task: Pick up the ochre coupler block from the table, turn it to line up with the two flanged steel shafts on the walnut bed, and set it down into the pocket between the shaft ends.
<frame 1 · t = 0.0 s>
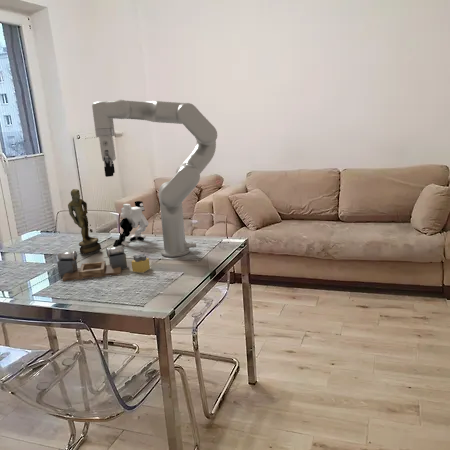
hand: (110, 174, 196), 37 cm above the table, tool pointing down, fingers open, 9 cm apart
shaft 1: (69, 273, 190), on the table
bed: (93, 273, 189), on the table
coupler: (141, 270, 189), on the table
shaft 2: (117, 268, 193), on the table
robot toy: (132, 242, 229), on the table
statue: (90, 253, 217), on the table
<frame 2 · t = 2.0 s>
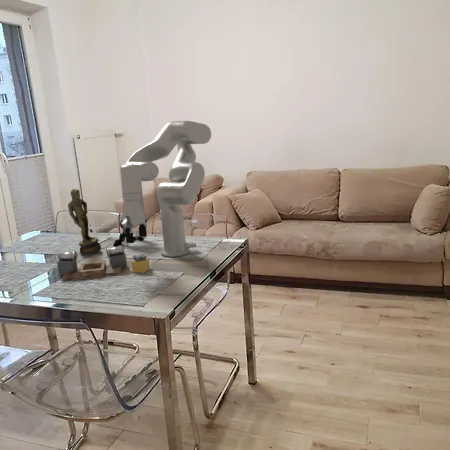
hand: (136, 239, 185), 13 cm above the table, tool pointing down, fingers open, 9 cm apart
nothing on the table moved.
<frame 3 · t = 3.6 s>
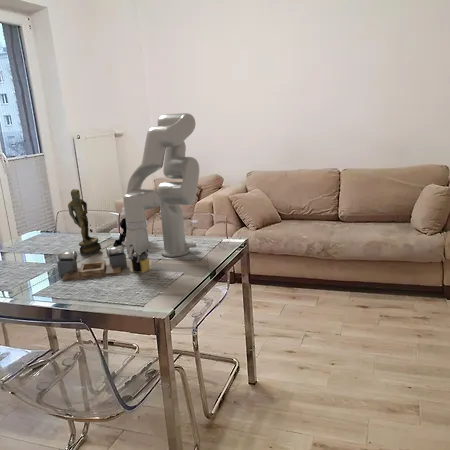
hand: (141, 268, 189), 1 cm above the table, tool pointing down, fingers closed on coupler, 5 cm apart
coupler: (141, 270, 189), on the table, touching gripper
everything else where it was.
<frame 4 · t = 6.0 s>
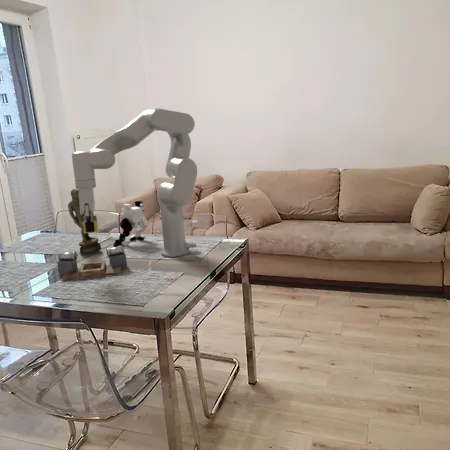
hand: (91, 229, 184), 18 cm above the table, tool pointing down, fingers closed on coupler, 5 cm apart
coupler: (91, 231, 184), point 17 cm above the table, touching gripper
everything else where it was.
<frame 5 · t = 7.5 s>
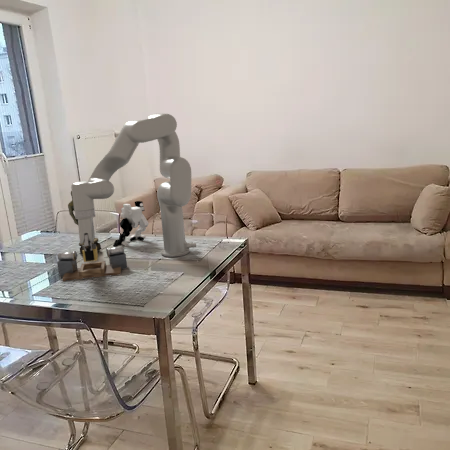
hand: (90, 257, 187), 6 cm above the table, tool pointing down, fingers closed on coupler, 5 cm apart
coupler: (91, 259, 187), point 6 cm above the table, touching gripper
everything else where it was.
when the fingers open (4 cm above the table, at t = 8.4 s): coupler drops 2 cm, resting on bed.
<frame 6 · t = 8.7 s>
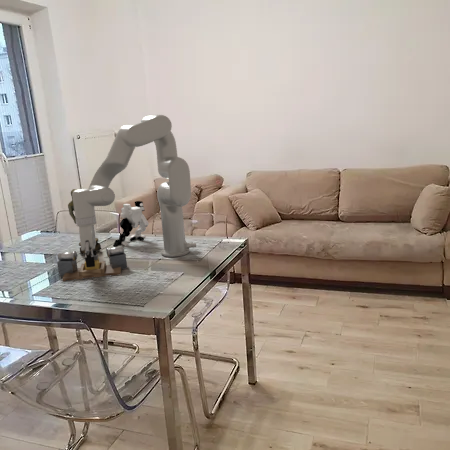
hand: (91, 263, 188), 4 cm above the table, tool pointing down, fingers open, 8 cm apart
coupler: (93, 270, 189), point 1 cm above the table, touching bed
everything else where it was.
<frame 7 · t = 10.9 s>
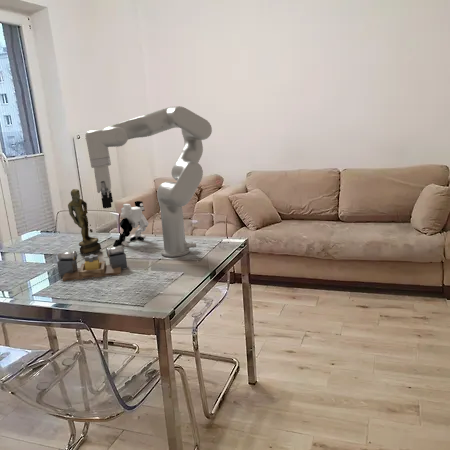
hand: (108, 205, 187), 26 cm above the table, tool pointing down, fingers open, 9 cm apart
nothing on the table moved.
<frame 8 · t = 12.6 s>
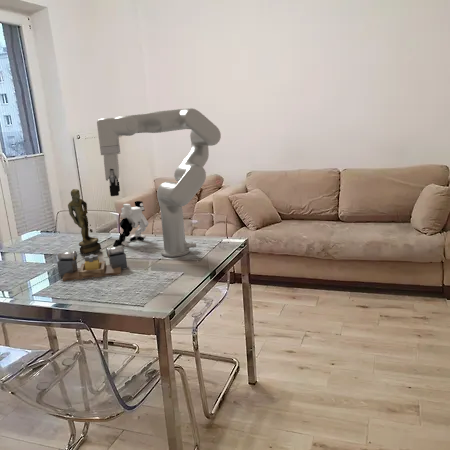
hand: (115, 193, 188), 30 cm above the table, tool pointing down, fingers open, 9 cm apart
nothing on the table moved.
at the end: coupler 0.1 cm off-centre on the bed, point 1.0 cm above the bed's base; coupler tilted 0°; the gripper is holding nothing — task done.
